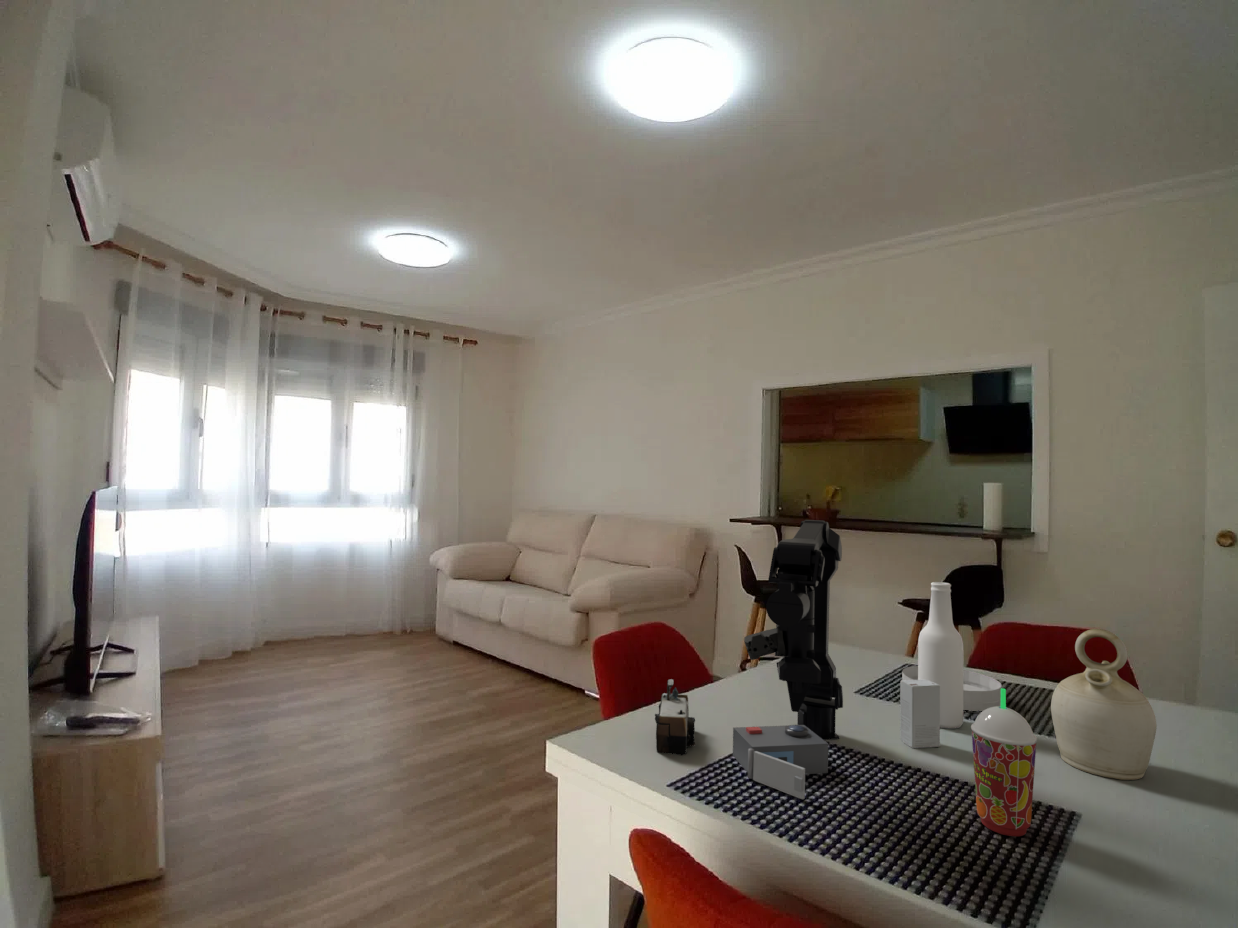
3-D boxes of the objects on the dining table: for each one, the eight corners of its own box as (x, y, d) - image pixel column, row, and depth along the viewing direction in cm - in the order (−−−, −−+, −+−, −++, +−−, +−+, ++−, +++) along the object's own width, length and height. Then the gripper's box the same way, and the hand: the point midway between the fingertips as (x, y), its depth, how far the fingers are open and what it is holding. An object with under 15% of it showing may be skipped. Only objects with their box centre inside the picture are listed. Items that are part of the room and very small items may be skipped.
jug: (1130, 792, 105) (1128, 641, 107) (1033, 756, 119) (1033, 623, 120) (1174, 775, 112) (1172, 634, 114) (1078, 744, 126) (1077, 618, 127)
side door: (805, 797, 99) (806, 767, 100) (801, 800, 98) (801, 770, 98) (749, 776, 106) (750, 747, 107) (744, 778, 105) (745, 750, 106)
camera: (693, 758, 114) (695, 701, 115) (652, 754, 115) (654, 698, 116) (697, 728, 129) (698, 678, 129) (660, 724, 130) (661, 675, 131)
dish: (911, 679, 170) (911, 660, 171) (1006, 696, 158) (1006, 676, 158) (892, 699, 152) (892, 678, 153) (998, 720, 140) (998, 697, 140)
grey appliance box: (803, 751, 118) (804, 719, 118) (828, 773, 109) (828, 738, 109) (732, 755, 116) (733, 721, 116) (752, 777, 106) (752, 741, 107)
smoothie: (958, 812, 96) (959, 680, 97) (1010, 812, 97) (1009, 680, 98) (995, 842, 88) (995, 697, 89) (1051, 841, 89) (1050, 697, 90)
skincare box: (926, 739, 126) (926, 678, 127) (941, 748, 122) (941, 684, 122) (898, 740, 125) (898, 678, 126) (912, 749, 121) (912, 685, 121)
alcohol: (959, 732, 130) (959, 587, 132) (913, 722, 136) (914, 582, 137) (966, 721, 137) (966, 583, 139) (922, 712, 143) (923, 579, 144)
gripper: (747, 604, 117) (745, 689, 116) (747, 624, 98) (745, 725, 98) (810, 608, 114) (808, 695, 114) (821, 629, 96) (820, 733, 95)
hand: (794, 710), depth 105 cm, fingers closed
